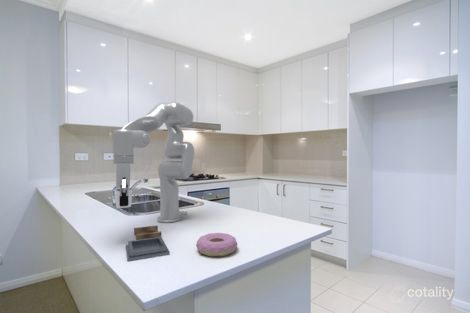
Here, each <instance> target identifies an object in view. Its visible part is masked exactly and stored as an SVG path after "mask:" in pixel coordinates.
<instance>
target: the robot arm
mask: <svg viewBox="0 0 470 313" xmlns="http://www.w3.org/2000/svg"><path fill="white" fill-rule="evenodd" d="M193 122H194V114H193V112H192V110H191V109H190V108H189V107H187V106H185V105H184V104H181V103H179V102H176V101H174V102H173V101H172V102H171V101H170V102H160V103H158V104H156V105H155V106H154V107H153V108H152V109H150V111H149V112H148V113H147V114H145V115H143V116H141V117H139V118H137V119H135V120H133V121H131V122H128V123H127V124H125V125H124V126H122V127H121V128H119V129H114V131H113V133H112V134H113V136H112V138H113V139H112V140H113V141H112V142H113V144H112V150H113V152H112V155H113V158H112V159H113V164H114V165H116V166H115V187H116V188H115V190H116V189H120V206H128V188H130V184H131V165H132V164H134V149H135V148H136V149H137V148H139V149H140V148H145V147H147V146H148V145H149V144H150V142H151V136H150V134H149V133H153V132H155V131H158V130H159V129H160V128H161V127H162V126H163V125H164V124H165V126H166V129H167V139H166V144H165V149H164V156H165V158H167V159H169V160H164V161H161V162H160V163H159V164H158V167H157V172H158V177H159V186H160V187H159V188H160V189H159V191H160V192H159V195H160V196H159V200H160V201H159V202H160V203H159V205H160V206H159V207H160V208H159V209H160V210H159V211H160V212H159V216H158V217H157V219H156V220H157V222H159V223H165V224H166V223H177V222H180V221H181V220H182V216H188V211H181V210H180V208H179V204H180V203H179V201H180V200H179V194H180V193H179V192H180V191H179V190H180V189H179V185H178V184H179V183H178V182H177V180H187V179H189V178H190V176H191V173H192V169H193V163H194V158H195V147H194V145H193V143H191V142H189V141H184V135H185V134H184V131H183V130H182V129H181V127H180V126H182V125H183V126H185V125H191V124H192V123H193Z"/></svg>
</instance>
